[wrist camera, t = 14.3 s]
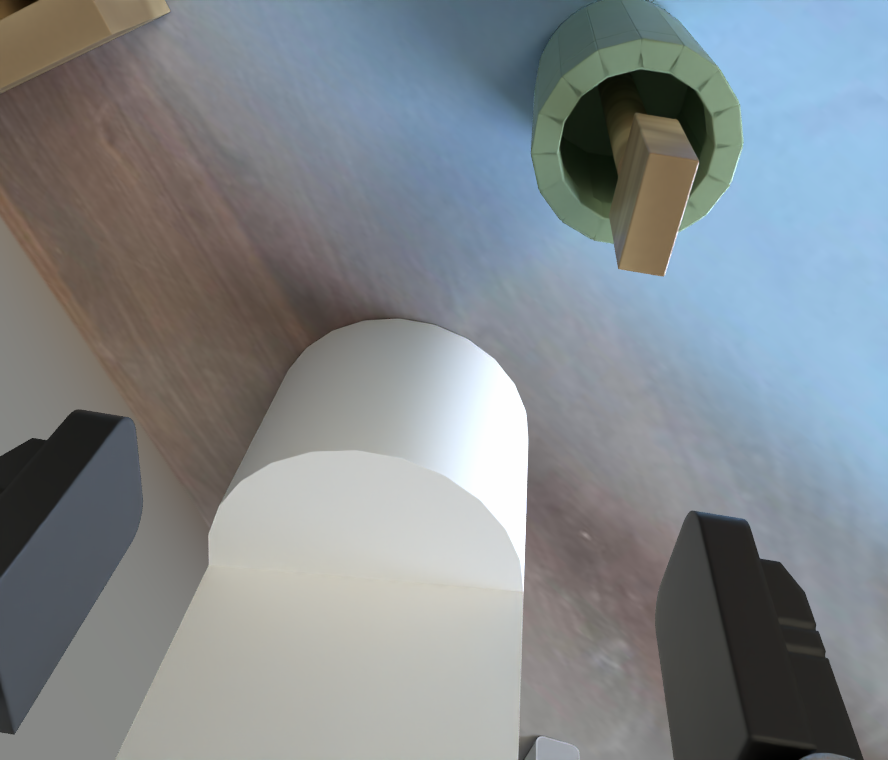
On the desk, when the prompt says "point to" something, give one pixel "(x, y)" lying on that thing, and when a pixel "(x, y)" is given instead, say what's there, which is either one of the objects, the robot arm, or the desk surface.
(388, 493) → the cylinder
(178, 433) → the desk surface
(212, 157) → the desk surface
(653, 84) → the jar
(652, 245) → the wooden paddle
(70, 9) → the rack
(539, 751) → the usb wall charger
